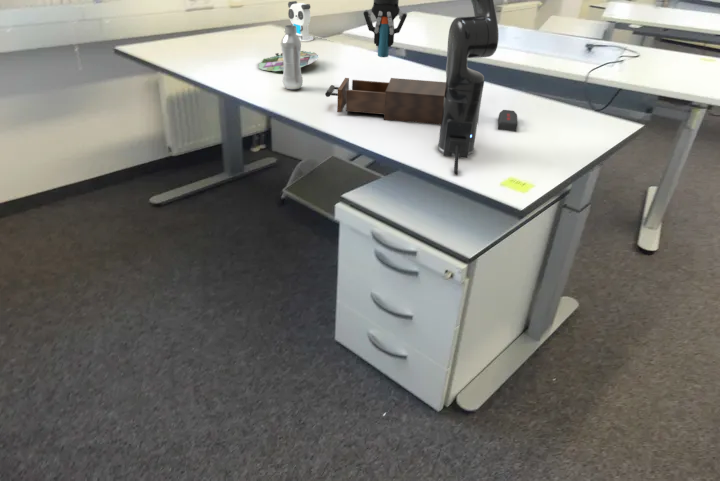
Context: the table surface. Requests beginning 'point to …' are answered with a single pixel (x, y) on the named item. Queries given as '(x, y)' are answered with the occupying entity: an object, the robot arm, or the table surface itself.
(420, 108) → the cabinet
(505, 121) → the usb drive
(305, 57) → the city model
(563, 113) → the table surface
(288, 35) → the plastic bottle
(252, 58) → the table surface
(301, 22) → the panda figurine
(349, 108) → the drawer
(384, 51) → the glue stick
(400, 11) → the robot arm
